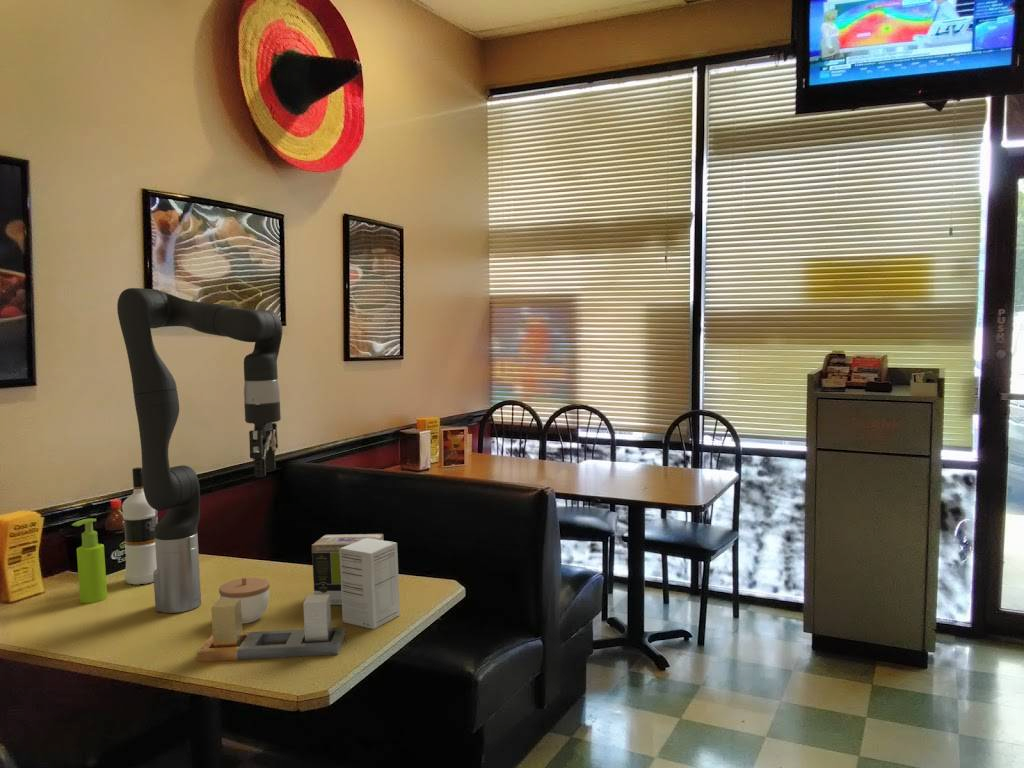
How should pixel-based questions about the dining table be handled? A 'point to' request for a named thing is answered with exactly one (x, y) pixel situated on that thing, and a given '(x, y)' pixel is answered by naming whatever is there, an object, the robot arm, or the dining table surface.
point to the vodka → (139, 534)
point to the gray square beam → (317, 619)
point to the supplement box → (369, 582)
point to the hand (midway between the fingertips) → (265, 473)
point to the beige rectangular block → (227, 623)
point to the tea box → (332, 563)
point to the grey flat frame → (272, 646)
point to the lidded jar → (248, 596)
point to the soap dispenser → (91, 565)
